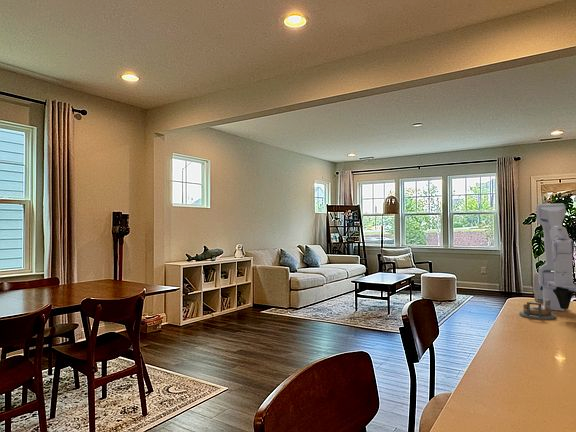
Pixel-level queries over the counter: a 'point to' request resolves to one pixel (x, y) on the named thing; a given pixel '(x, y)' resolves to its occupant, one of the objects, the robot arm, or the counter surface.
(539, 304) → the disc
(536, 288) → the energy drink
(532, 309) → the capstan disc
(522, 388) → the counter surface
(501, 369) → the counter surface
